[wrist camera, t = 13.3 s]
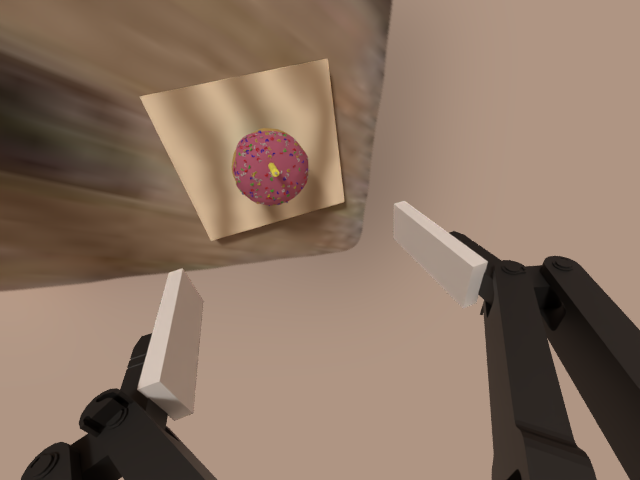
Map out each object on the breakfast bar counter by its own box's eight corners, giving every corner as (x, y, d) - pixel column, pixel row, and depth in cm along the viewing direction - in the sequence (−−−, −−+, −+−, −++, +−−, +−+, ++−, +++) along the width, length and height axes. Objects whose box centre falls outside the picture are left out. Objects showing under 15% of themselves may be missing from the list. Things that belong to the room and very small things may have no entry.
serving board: (211, 235, 38) (211, 240, 37) (143, 95, 27) (139, 96, 26) (341, 198, 41) (344, 201, 40) (323, 59, 30) (327, 58, 29)
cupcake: (218, 135, 30) (214, 166, 20) (287, 111, 31) (315, 130, 21) (248, 200, 35) (257, 249, 25) (307, 177, 36) (338, 217, 26)
